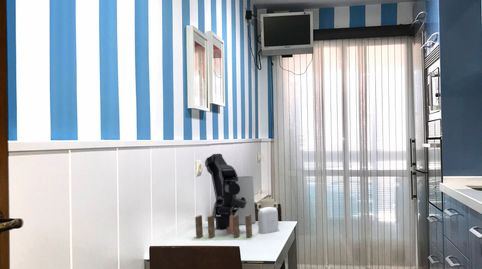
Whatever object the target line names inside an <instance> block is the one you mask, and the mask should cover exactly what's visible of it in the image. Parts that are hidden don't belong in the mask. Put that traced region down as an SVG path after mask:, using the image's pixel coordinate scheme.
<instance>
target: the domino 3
mask: <svg viewBox="0 0 482 269" xmlns="http://www.w3.org/2000/svg"><path fill="white" fill-rule="evenodd" d="M232 218H233V233H232V235H233V236H234V238H238V237H239V236H240V234H241V233H240V232H241V231H240V225H239V215H234V216H232Z"/></svg>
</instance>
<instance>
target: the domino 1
mask: <svg viewBox="0 0 482 269" xmlns="http://www.w3.org/2000/svg"><path fill="white" fill-rule="evenodd" d="M194 220H195V221H194V223H195V234H196V235H195V238H196V239H200V238H201V237H203V235H204V231H203V215H202V214H200V215H196V216H195V217H194Z"/></svg>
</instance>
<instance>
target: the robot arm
mask: <svg viewBox="0 0 482 269" xmlns="http://www.w3.org/2000/svg"><path fill="white" fill-rule="evenodd" d="M204 166H205V167H206V171H207V172H208V173H209V174H210V176H211V182H212V186H213V192H214V197H215V202H214V204H213V210H212V213H211V215H214V220H215V231H216V230H219V231H224V230H225V231H226V230H227V227H229V224H230V216H231V214H233V216H234V215H235V213H236V212H237V211H238V210H239V209H236V208H242V209H243V208H245V205H246V204H247V203H246V202H247V201H246V200H245V198H244V197H242V198H241V199H238V198H236V195H237V194H238V193H239V192H240V186H239V185H238V184H237V183H236V181H238V177H239V176H238V173H237V171H236V169H234V166H232V165H230V164H227V162H226V160H225V159H224V157H223V154H222V153H213V154H211V155H210V156H208V157H206V159H205V160H204Z"/></svg>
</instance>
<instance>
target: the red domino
mask: <svg viewBox="0 0 482 269" xmlns="http://www.w3.org/2000/svg"><path fill="white" fill-rule="evenodd" d="M232 216H233V214H231V216H230V224H229V227H227V235H232V234H233V218H232Z"/></svg>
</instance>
